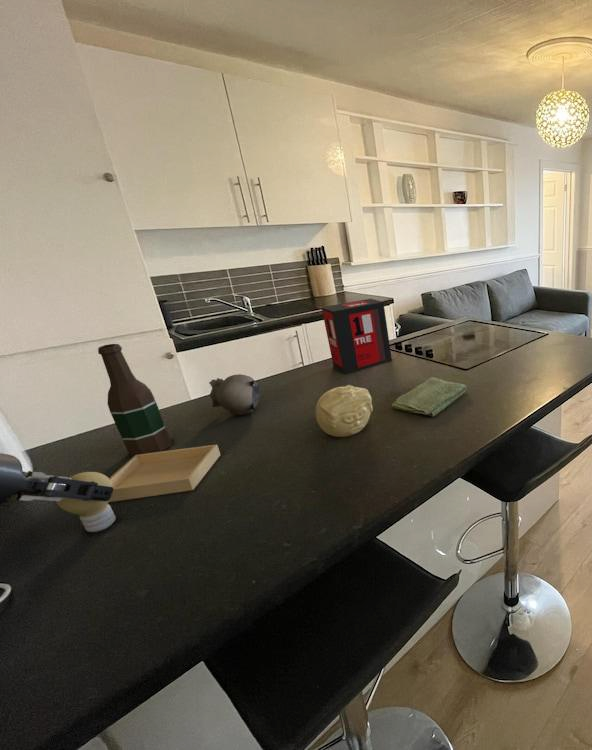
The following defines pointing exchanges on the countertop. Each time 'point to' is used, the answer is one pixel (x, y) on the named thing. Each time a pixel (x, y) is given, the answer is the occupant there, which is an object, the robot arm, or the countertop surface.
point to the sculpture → (344, 410)
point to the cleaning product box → (357, 334)
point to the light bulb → (90, 505)
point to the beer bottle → (133, 406)
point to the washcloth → (430, 397)
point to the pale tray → (162, 472)
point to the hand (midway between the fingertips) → (86, 493)
